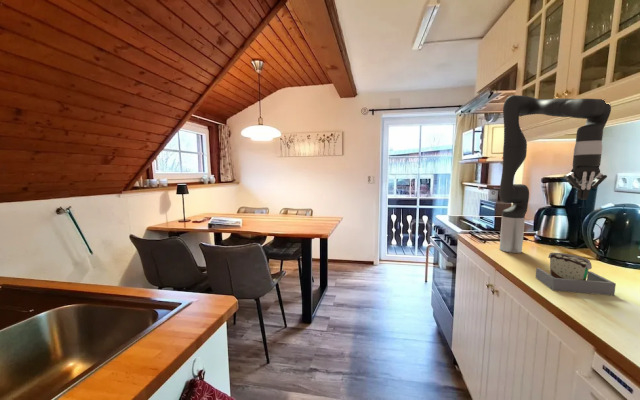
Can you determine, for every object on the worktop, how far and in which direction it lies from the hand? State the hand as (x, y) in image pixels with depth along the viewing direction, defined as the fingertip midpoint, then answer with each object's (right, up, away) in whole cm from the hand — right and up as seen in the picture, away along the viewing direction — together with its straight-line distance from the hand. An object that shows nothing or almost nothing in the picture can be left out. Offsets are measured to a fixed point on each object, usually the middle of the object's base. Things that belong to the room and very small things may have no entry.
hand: (582, 199), depth 103 cm
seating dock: (-13, -30, -9) cm, 34 cm away
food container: (-12, -30, -8) cm, 34 cm away
